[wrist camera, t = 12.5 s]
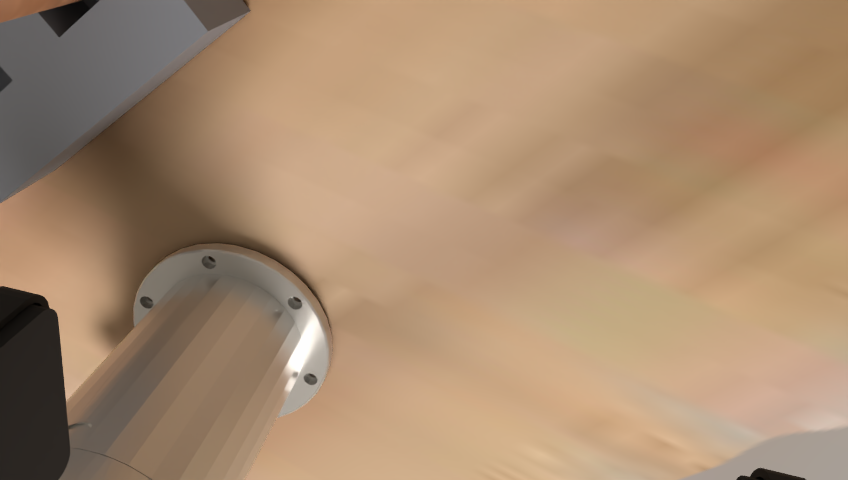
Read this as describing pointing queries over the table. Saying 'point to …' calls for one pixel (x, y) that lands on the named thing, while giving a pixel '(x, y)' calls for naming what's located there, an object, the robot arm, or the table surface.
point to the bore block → (90, 72)
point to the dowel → (27, 7)
